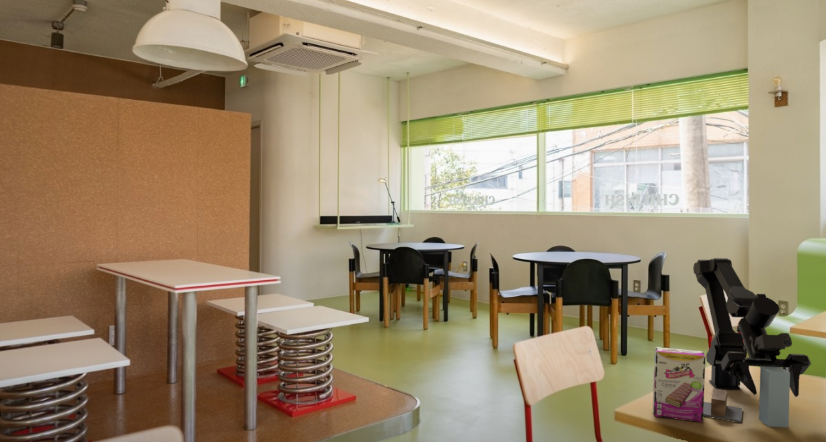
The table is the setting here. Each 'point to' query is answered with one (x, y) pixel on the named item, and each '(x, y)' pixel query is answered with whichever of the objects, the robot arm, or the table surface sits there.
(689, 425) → the table surface
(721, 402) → the ridge
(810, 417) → the table surface
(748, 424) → the table surface
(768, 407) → the block
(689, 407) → the candy bar box
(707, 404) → the mat
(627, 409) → the table surface
